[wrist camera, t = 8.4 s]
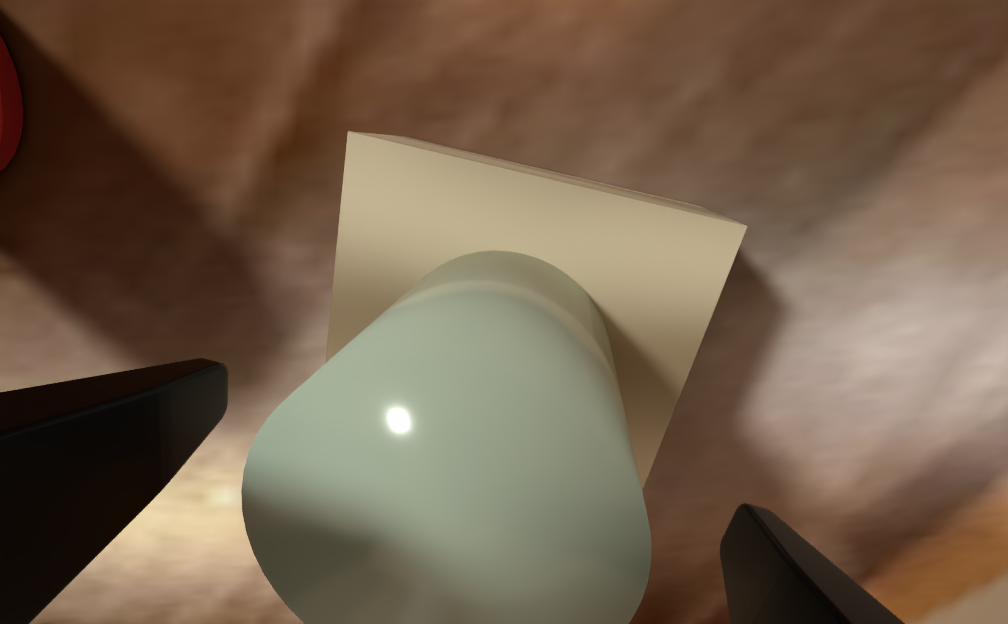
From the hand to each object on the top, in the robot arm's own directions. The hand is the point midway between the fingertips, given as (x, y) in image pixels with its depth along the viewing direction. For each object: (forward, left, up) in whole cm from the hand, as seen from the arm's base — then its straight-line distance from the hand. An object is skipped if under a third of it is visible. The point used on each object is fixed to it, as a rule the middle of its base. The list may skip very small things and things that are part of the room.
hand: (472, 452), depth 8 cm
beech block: (0, 0, -8) cm, 8 cm away
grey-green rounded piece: (0, 0, -4) cm, 4 cm away
